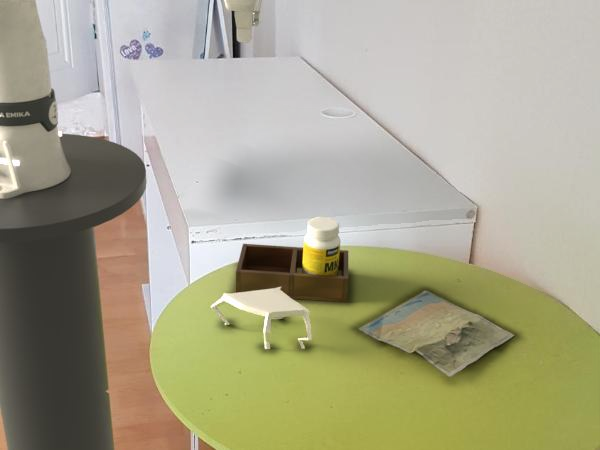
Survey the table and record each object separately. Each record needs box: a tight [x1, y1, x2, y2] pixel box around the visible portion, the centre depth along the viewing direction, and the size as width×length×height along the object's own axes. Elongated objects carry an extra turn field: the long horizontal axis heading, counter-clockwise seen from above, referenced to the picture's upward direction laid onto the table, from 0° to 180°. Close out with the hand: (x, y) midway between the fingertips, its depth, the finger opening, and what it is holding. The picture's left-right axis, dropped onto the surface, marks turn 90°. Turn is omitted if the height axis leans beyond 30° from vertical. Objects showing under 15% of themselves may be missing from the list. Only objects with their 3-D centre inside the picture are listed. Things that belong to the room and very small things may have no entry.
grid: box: [235, 243, 349, 303], centre depth 98 cm, size 14×7×4 cm, turn 87°
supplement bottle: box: [302, 216, 341, 276], centre depth 97 cm, size 5×5×8 cm
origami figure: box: [210, 287, 313, 350], centre depth 88 cm, size 12×8×5 cm
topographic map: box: [358, 290, 515, 378], centre depth 90 cm, size 14×14×2 cm
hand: (248, 32), depth 99 cm, fingers open, 8 cm apart
